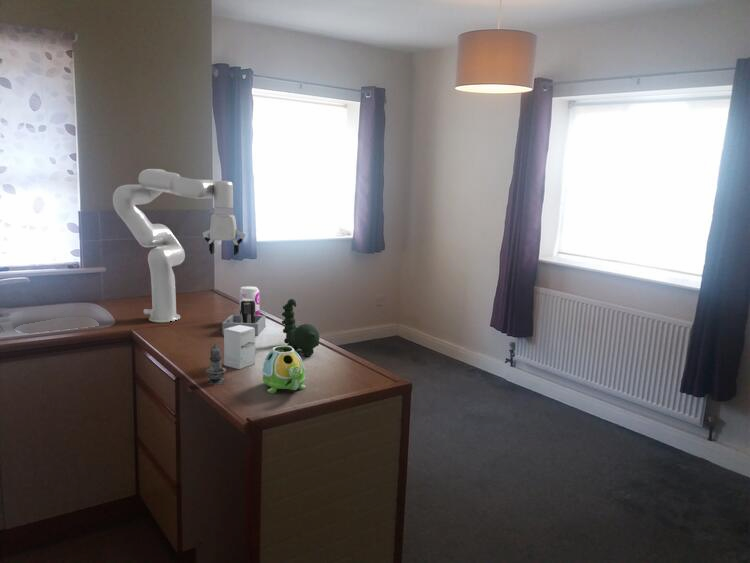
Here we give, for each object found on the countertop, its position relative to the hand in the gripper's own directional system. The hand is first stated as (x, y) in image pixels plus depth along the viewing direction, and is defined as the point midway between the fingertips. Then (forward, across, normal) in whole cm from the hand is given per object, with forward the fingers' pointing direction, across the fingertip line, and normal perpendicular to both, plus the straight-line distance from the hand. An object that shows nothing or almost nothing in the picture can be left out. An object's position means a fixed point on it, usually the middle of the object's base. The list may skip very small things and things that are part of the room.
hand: (224, 253), depth 237 cm
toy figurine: (+30, +37, -32) cm, 57 cm away
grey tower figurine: (+30, +16, -66) cm, 74 cm away
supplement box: (+30, +20, -50) cm, 61 cm away
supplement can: (+30, +9, +6) cm, 32 cm away
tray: (+30, +10, -8) cm, 33 cm away
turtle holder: (+30, +39, -70) cm, 85 cm away
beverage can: (+29, +12, -7) cm, 32 cm away
